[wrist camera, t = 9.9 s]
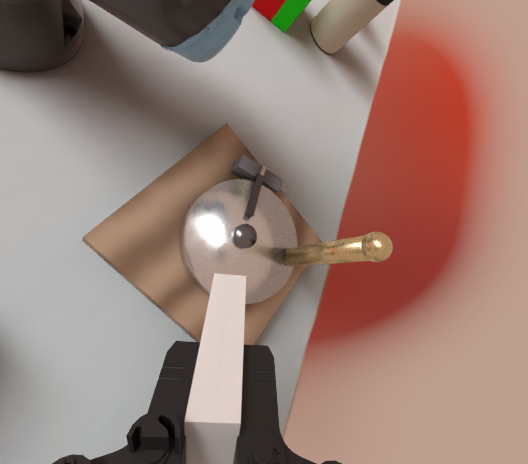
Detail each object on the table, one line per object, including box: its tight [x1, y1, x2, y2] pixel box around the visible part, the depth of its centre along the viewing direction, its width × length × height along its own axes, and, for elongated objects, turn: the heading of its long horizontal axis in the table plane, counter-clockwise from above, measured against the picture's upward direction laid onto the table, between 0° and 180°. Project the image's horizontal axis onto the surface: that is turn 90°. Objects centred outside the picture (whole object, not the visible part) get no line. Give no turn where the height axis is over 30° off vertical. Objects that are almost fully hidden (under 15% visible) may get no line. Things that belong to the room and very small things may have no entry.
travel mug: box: [311, 0, 393, 54], centre depth 54 cm, size 8×8×18 cm
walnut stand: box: [83, 124, 322, 345], centre depth 39 cm, size 24×24×6 cm
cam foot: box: [179, 173, 393, 304], centre depth 32 cm, size 16×17×18 cm
